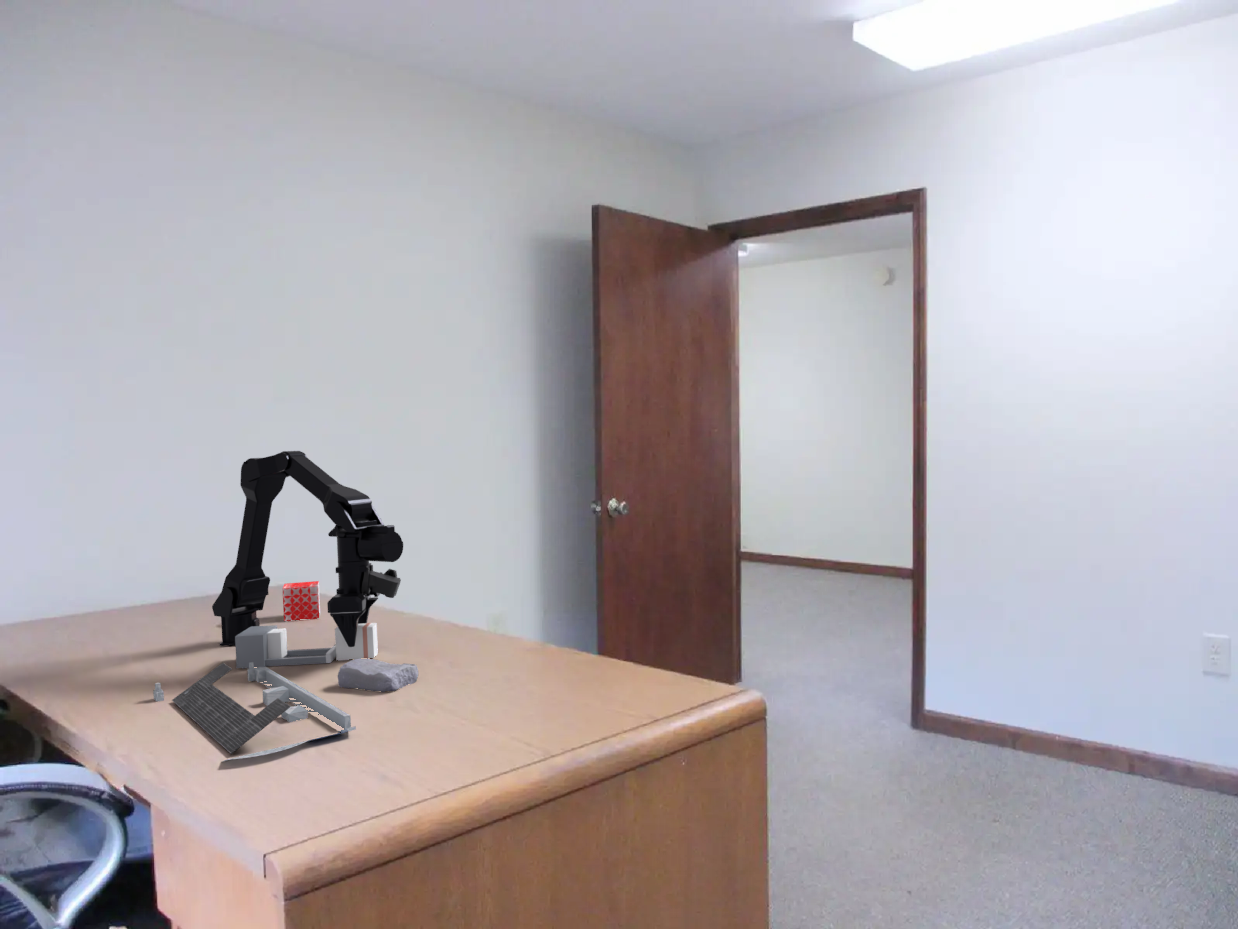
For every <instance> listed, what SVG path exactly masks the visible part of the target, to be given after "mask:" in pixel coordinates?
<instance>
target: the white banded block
mask: <svg viewBox="0 0 1238 929" xmlns="http://www.w3.org/2000/svg"><path fill="white" fill-rule="evenodd" d="M334 636H335V639H334V640H335V644H336V658H335V659H336V662H337V660H338V661H350V660H349V659H361V658H374V657H375V656H376V657H377V655H379V650H378V648H379V647H378V646H379V645H378V644H379V643H378V623H377V622H367V623H363V624H358V626H357V634H356V641H355V646H354V647H348V645H347V643H346V641H345V639H344V637H343V635H342V633H341V631H340V630H339V628H338V626H336V627H335V628H334ZM376 657H375V658H376ZM375 658H374V659H375Z"/></svg>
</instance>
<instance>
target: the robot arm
mask: <svg viewBox="0 0 1238 929" xmlns="http://www.w3.org/2000/svg"><path fill="white" fill-rule="evenodd" d="M288 477H290V478H292V479H293V480H294V481H296V482H297V484H299V485H300V486H301V487H303V488H304V489H306V490H307V491H308V492H309V493H310V494H311V495H313V496H314V497H315V498H316V499H317V500H318V501H320V502H321V504H322V506H323V511H324V513H325V514H326V515H327V516H328V518H329V519H330V521H331V522H332V523H334V527H333V529H331V530H330V531H329V532H328V533H327V534H328V537H333V538H336V545H337V546H336V550H337V566H336V567H335V574H338V576H337V577H338V588H337V589H336V591H335V592H336V594H335V595H334V596H332V597H331V598H330V599H329V600H328V601H327V604H326V605H327V613H328V614H329V615H330V617H332V619H333V621H334V623H335V624H336V627H338V628H339V630H340V631H341V633H342V635H343V637H344V639H345V641H346V643H347V645H348V647H354V646H355V641H356V634H357V626H358V624H363V623H368V621H369V620H368V619H369V614H370V609H371V608H372V606H373V605H374V604H375V602H376V601H377V600H379V596H380V595H383V596H384V597H386V598H390V599H394V598H395V596H397V594H398V591H399V590H398V589H399V587H400V585H401V580H402V579H401V577H398V574H397V573H398V572H397V570H396V569H391V568H388V569H387V570H386V571H385V572H384V573H383V572H381V571H380V572H378V571H374V565H373V564H372V563H371V562H380V563H381V562H383V563H394V562H396V561H398V560H399V559H400V558H401V556H402V555H403V550H404V541H403V539H402V538H401V535H400V534H399V533H398V532H396V529H395V525H394V524H391V525H389V524H388V525H385V524H384V522H383V521H382V518H381V517H380V516H379V513H378V512H377V510H376V508H375V506H374V505H373V504H372V503H373V501H372V499H371V498H370V497H369V495H367V494H366V493H363V492H361V491H360V490H357V489H355V488H352V487H348V486H345V485H343V484H342V483H339V482H338V481H337V480H335V479H334V478H333V477H332V476H331V475H329V474H328V473H327V472H325V471H324V470H323V469H322V468H320V467H319V466H318V465H317V464H315V463H314V462H313V461H312V460H311V459H310V458H308V457H307V454H306V453H305V452H303V451H301V450H287V451H286V450H284V451H281V452H277V453H276V454H273V455H270V456H269V455H268V456H265V457H251V458H248V459H246V460H245V461H243V462H242V465H241V468H240V483H239V484H240V487H241V490H242V492H243V494H244V497H245V498H246V499H245V506H244V512H243V518H242V522H241V523H242V524H241V530H240V537H239V544H238V548H237V549H238V550H237V556H236V562H235V565H234V566H233V567H232V568H231V570H229V572H228V574H227V575H226V577H225V579H224V583H223V586H222V588H221V592H220V593H219V595H218V597H217V598H216V599H215V601H214V603H213V604H212V606H211V608H212V612H213V616H214V617H219V618H220V621H221V623H220V624H221V642H220V643H218V645H219V647H222V646H223V647H224V646H235V636H237V635H238V634H240V633H241V632H243V631H245V630H246V629H248V628H249V627H251V626H261V625H260V618H259V617H257V611H263V610H264V604H265V600H266V598H267V596H268V595H269V587H270V586H269V585H270V583H271V577H270V576H267V575H266V573H265V571H264V570H263V568H262V566H263V559H264V553H265V549H266V541H267V535H268V529H269V525H270V524H269V523H270V517H271V511H272V505H273V502H274V500H275V499H276V498H277V496H278V495H279V494H280V493H281V491H282V490H283V488H284V485H285V481H286V478H288ZM372 596H373V597H372Z"/></svg>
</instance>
